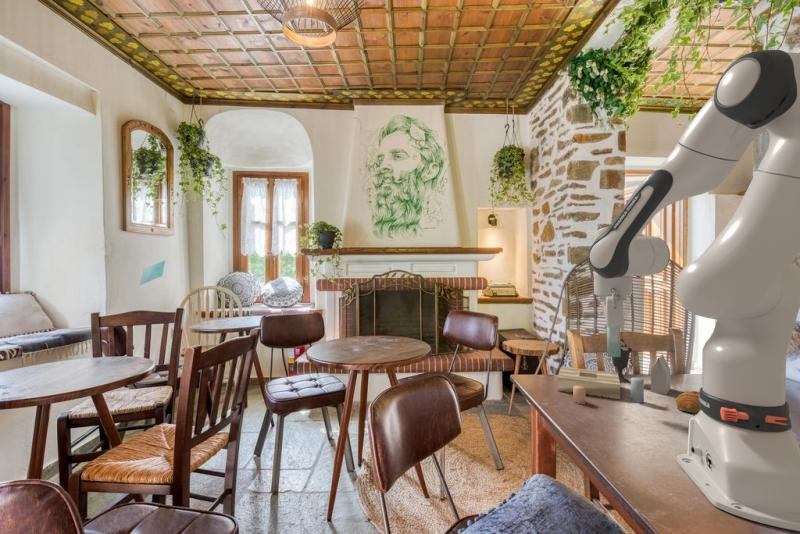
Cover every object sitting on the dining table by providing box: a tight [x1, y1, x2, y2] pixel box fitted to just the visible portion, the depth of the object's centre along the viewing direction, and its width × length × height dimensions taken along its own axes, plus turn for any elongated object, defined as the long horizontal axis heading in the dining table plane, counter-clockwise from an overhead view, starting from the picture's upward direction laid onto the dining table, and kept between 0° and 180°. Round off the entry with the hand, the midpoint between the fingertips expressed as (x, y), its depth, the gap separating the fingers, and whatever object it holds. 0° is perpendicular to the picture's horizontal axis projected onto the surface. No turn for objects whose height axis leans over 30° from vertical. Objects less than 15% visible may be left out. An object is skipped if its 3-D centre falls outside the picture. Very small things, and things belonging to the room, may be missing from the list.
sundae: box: [611, 331, 633, 383], centre depth 122 cm, size 7×7×15 cm
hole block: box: [557, 366, 621, 400], centre depth 115 cm, size 12×16×4 cm
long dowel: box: [606, 326, 621, 358], centre depth 101 cm, size 3×3×8 cm
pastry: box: [675, 390, 701, 415], centre depth 99 cm, size 9×7×4 cm
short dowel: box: [572, 386, 587, 404], centre depth 104 cm, size 3×3×4 cm
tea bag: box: [650, 353, 671, 396], centre depth 112 cm, size 4×7×10 cm, turn 137°
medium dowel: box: [630, 377, 645, 404], centre depth 104 cm, size 3×3×6 cm
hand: (613, 340), depth 101 cm, fingers closed on long dowel, 3 cm apart
